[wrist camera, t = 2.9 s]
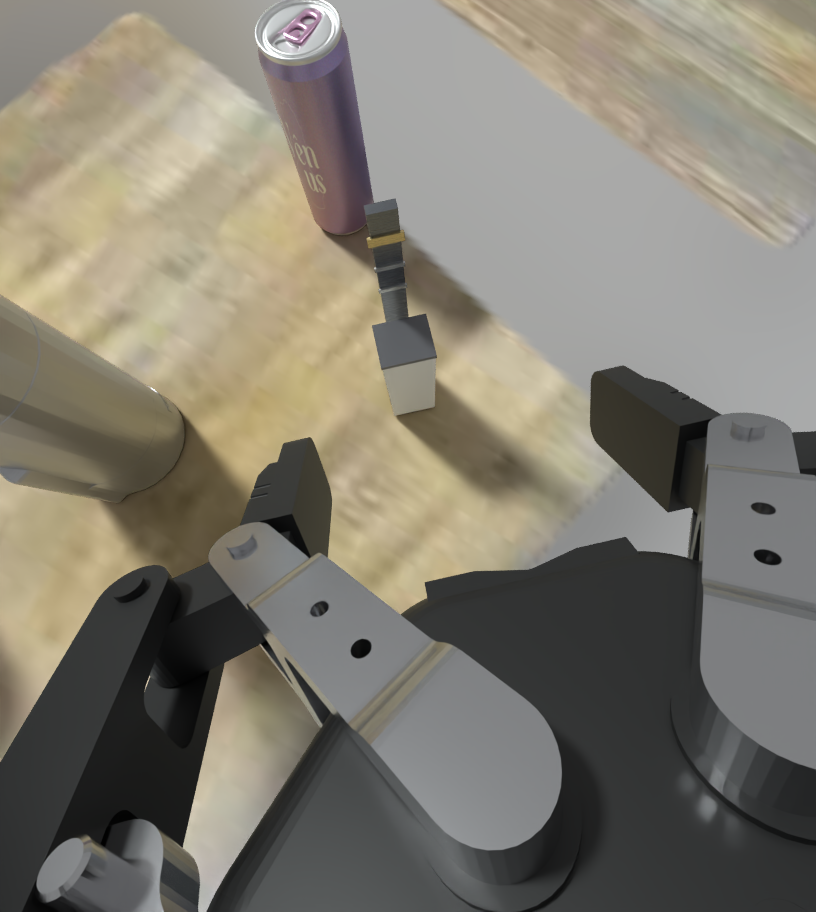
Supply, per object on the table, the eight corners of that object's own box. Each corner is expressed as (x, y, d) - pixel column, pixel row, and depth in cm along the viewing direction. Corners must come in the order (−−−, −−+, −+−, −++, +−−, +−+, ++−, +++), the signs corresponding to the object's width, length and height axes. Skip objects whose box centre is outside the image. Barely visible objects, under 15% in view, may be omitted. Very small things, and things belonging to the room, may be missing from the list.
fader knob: (435, 407, 36) (436, 355, 27) (393, 416, 36) (381, 368, 27) (427, 374, 37) (425, 313, 28) (386, 383, 37) (372, 325, 28)
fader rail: (422, 369, 37) (414, 216, 21) (388, 376, 37) (354, 229, 21) (417, 349, 38) (406, 184, 21) (384, 356, 38) (347, 197, 21)
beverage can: (386, 204, 42) (362, 12, 27) (351, 249, 41) (306, 75, 26) (337, 178, 43) (289, -19, 28) (302, 221, 42) (232, 40, 27)
